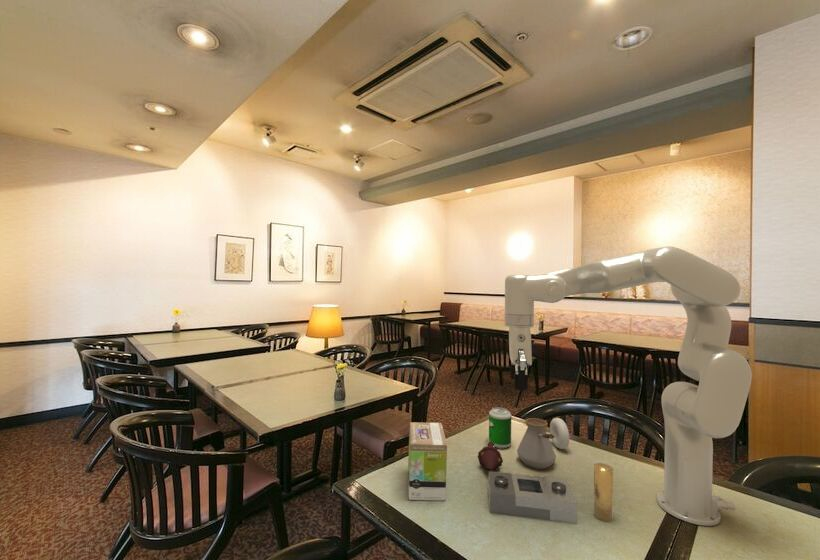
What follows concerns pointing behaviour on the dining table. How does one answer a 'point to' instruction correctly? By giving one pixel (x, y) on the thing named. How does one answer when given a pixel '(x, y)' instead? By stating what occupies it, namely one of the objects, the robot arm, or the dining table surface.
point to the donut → (559, 433)
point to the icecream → (490, 457)
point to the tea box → (427, 461)
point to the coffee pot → (536, 445)
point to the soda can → (500, 427)
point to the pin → (603, 492)
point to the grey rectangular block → (531, 497)
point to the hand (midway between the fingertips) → (518, 384)
